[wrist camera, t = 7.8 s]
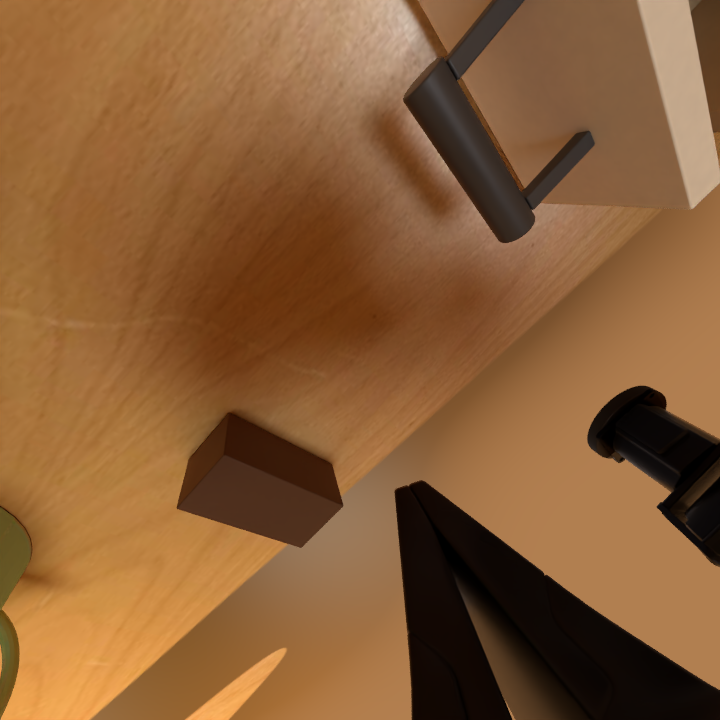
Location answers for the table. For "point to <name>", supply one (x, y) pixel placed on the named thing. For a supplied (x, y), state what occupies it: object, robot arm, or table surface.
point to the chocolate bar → (259, 484)
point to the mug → (3, 570)
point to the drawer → (574, 103)
